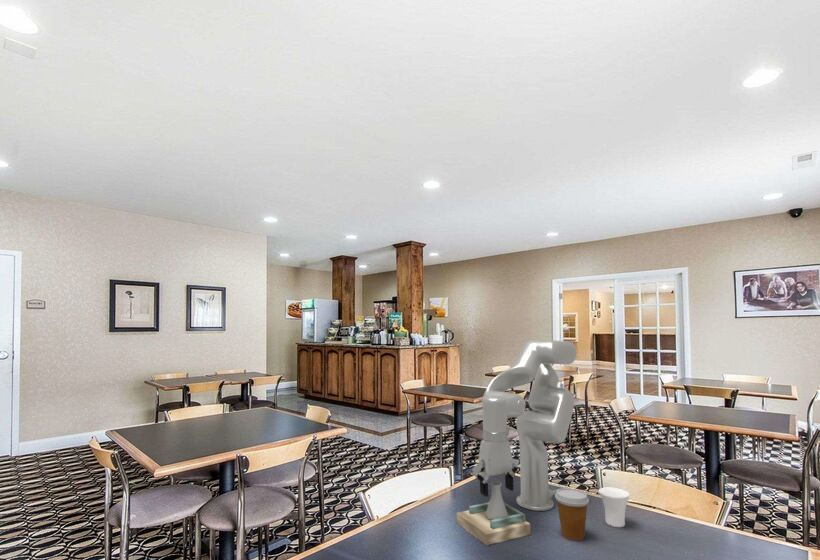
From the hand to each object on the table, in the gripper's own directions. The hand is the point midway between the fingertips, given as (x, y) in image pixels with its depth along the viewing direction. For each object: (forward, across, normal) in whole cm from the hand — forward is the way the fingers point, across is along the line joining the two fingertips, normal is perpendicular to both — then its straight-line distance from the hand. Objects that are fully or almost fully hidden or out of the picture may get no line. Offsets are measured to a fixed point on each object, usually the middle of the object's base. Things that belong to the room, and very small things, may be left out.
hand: (497, 492), depth 134 cm
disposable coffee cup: (+11, -16, +14) cm, 24 cm away
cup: (+11, -34, +14) cm, 39 cm away
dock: (+10, +2, 0) cm, 10 cm away
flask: (+7, +1, 0) cm, 7 cm away
